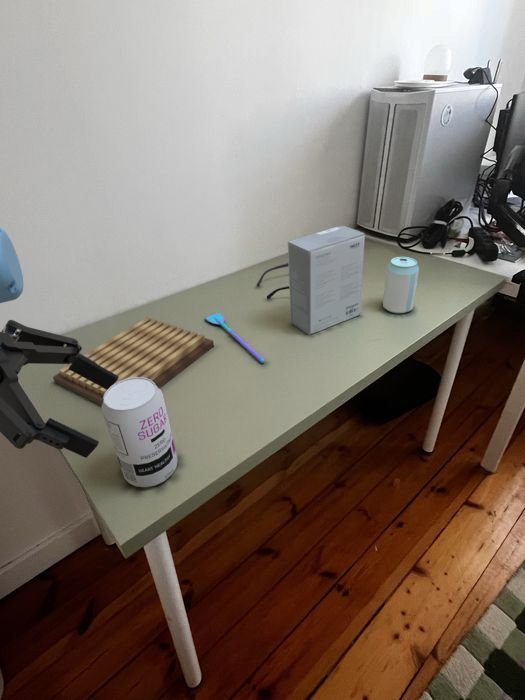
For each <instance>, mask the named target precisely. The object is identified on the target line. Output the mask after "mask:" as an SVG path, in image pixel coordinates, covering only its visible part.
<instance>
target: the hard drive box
mask: <svg viewBox="0 0 525 700" xmlns="http://www.w3.org/2000/svg"><path fill="white" fill-rule="evenodd" d="M365 244H366V233H365V232H363V231H359V230H357V229H354V228H352V227H348V226H345V225H339V226H335V227H332V228H329V229H325V230H322V231H318V232H316V233H312V234H309V235H306V236H302V237H300V238H299V237H298V238H296V239H293V240H292V239H291V240H289V241H287V253H288V254H287V258H288V262H287V263H289V266H288V286H289V289H288V290H289V291H288V292H289V313H290V314H289V315H290V317H289V319H290V324H292V325H294V326H295V327H296V328H297V329H299V330H300V331H302V332H304V333H305V334H306V335H308V336H310V335H313V334H315V333H319V332H321V331H324V330H326V329H328V328H330V327H331V328H332V327H333V326H336V325H338V324H340V323H343V322H346V321H349V320H351V319H353V318H355V317H358V316H360V315H361V303H362V286H363V272H364V259H365V257H364V256H365Z"/></svg>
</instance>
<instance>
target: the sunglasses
mask: <svg viewBox="0 0 525 700" xmlns="http://www.w3.org/2000/svg"><path fill="white" fill-rule="evenodd" d="M283 268H289V262H287V263H283V264H279V265H276V266H273V267H270V268H269V269H267V270H265V271H264V272H263V273H262V274H261V276H260V278H259V279H258V281H257V283H256V286H258V287H260V285H261V283H262V281H263V279H264V277H265V275H267V273H269V272H273V271H275V270H278V269H283ZM283 290H289V285H288V286H283V287H278V288H276V289H274V290H273V291H272V292H270V293H269V294H267V296H266V299H267V300H270V299H271V298H272V297H273V296H274V295H275V294H276V293H278V292H279V291H283Z"/></svg>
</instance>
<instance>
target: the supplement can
mask: <svg viewBox="0 0 525 700" xmlns="http://www.w3.org/2000/svg"><path fill="white" fill-rule="evenodd" d="M101 412H102V417H103V420H104V422H105V425H106V428H107V431H108V434H109V436H110V440H111V443H112V446H113V449H114V451H115V455H116V459H117V461H118V463H119V467H120V469H121V472H122V475H123V478H124V479H125V480H126V482H127V483H128V484H130V485H132V486H134V487H138V488H139V487H140V488H149V487H150V488H151V487H155V486H157V485H159V484H162V483H163V482H165V481H166V480H168V479H169V478H170V477H171V476H172V475H173V473H174V472H175V470H176V469H177V467H178V455H177V451H176V447H175V446H176V445H175V442H174V438H173V433H172V429H171V425H170V420H169V415H168V411H167V408H166V402H165V398H164V395H163V392H162V389H161V388H160V389H159V388H158V387H157V386H156V385H155V383H154V382H153V381H151V380H150V379H147V378H144V377H133V378H127V379H124V380H121V381H119V382H117V383H115V384H114V385H112V386H111V387H110V388H109V389H108V390H107V391H106V392H105V395H104V401H103V404H102V406H101Z"/></svg>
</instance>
